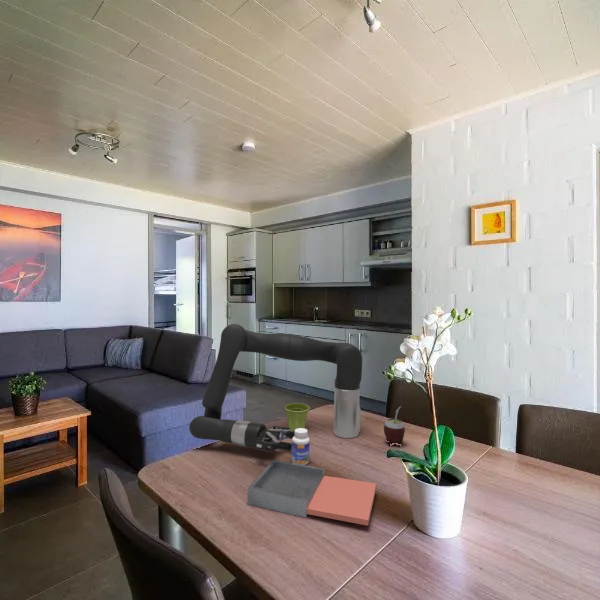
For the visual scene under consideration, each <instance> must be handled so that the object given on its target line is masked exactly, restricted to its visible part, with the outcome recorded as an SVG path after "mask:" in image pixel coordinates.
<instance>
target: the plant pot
mask: <svg viewBox="0 0 600 600" xmlns="http://www.w3.org/2000/svg"><path fill="white" fill-rule="evenodd" d="M284 409H285V412H286V413H285V414H286V419H287V427H289V428H290V431H293V432H295V429H297V428H304V429H306V423H307V417H308V413H309V410H310V409H311V408H310V406H309V405H308V404H305V403H299V402H298V403H297V402H295V403H288V404H286V405H285V406H284Z"/></svg>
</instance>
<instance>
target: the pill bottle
mask: <svg viewBox="0 0 600 600" xmlns="http://www.w3.org/2000/svg"><path fill="white" fill-rule="evenodd" d="M308 431H309V430H308V429H307V428H305V429H304V428H297V429H295V433H294V434H295V436H294V437H293V438H292V439H291V444H292V450H291V463H295V464H300V465H306V466H307V465H308V464H309V463H310V445H311V444H310V442H311V439H310V438H309V436H308V435H309V434H308V433H309V432H308Z"/></svg>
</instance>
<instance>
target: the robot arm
mask: <svg viewBox="0 0 600 600" xmlns="http://www.w3.org/2000/svg"><path fill="white" fill-rule="evenodd" d="M240 352H243V353H245V352H246V353H259V354H262V355H267V356H270V357H273V358H279V359H284V360H289V361H295V362H296V361H297V362H298V361H299V362H310V361H320V362H321V361H322V362H327V363H330V364H331V363H332V364H335V365H336V376H335V379H334V392H333V393H334V395H333V396H334V399H333V404H334V405H333V434H334V435H335V436H337V437H338V438H344V439H352V438H353V439H354V438H356V437H358V435H359V434H360V433H361V413H362V412H361V411H362V409H361V407H360V394H361V393H360V387H361V382H362V375H363V373H362V372H363V355H362V352H361V350H360V349H359V348H358V347H357V346H355V344H352V343H349V342H333V341H325V340H324V341H323V340H319V339H315V338H311V337H307V336H302V335H297V334H291V333H282V332H281V333H279V332H277V333H275V332H274V333H261V332H255V331H253V330H251V331H250V330H247V329H245V327H243V326H242V325H241V324H238V323H230V324H228V325H227V326H225V327H223V330H222V331H221V335H220V342H219V348H218V352H217V353H218V354H217V358H216V360H215V364H214V366H213V369H212V373H211V376H210V378H209V380H208V383H207V386H206V389H205V391H204V395H203V398H202V402H201V405H202V406H203V408H204V414H203V415H199V416H196V417H194V418H193V419H192V420H191V421H190V423H189V427H188V429H189V430H188V431H189V433H190V435H192V437H194V438H196V439H200V440H201V439H202V440H208V441H209V440H210V441H220V442H224V443H230V444H234V445H237V446H240V447H241V446H242V447H247V448H252V449H256V450H258V451H262V452H263V451H264V452H268V453H275V451H281V450H282V451H285V452H286V451H288V452H292V442H287V441H284V440H286V439H289V440H292V438H293V437H294V436H295V434H294V433H295V432H293V431H290V428H289V427H288V426H280V425H272V428H270V429H269V428H267V426H266V425H265V424H264V423H261V422H254V421H253V422H252V421H247V420H234V419H222V412H223V410H222V409H223V405H224V402H225V398H226V397H227V392H228V390H229V386H230V382H231V377H232V373H233V369H234V366H235V363H236V361H237V359H238V356H239V353H240ZM359 432H360V433H359Z"/></svg>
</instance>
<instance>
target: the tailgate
mask: <svg viewBox="0 0 600 600" xmlns="http://www.w3.org/2000/svg"><path fill="white" fill-rule="evenodd" d="M376 491H377V483H376V482H375V483H374V482H370V481H361V480H355V479H348V478H342V477H336V476H329V475H324V477H323V478H322V480H321V482H320V484H319V486H318V488H317V490H316V492H315V494H314V496H313V498H312V499H311V501H310V503H309V505H308V507H307V514H308V515H310V516H316V517H322V518H324V519H325V518H327V519H332V520H337V521H342V522H347V523H353V524H358V525H361V526H369V524H370V520H371V519H370V518H371V514H372V510H373V505H374V501H375V495H376V493H377V492H376Z"/></svg>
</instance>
